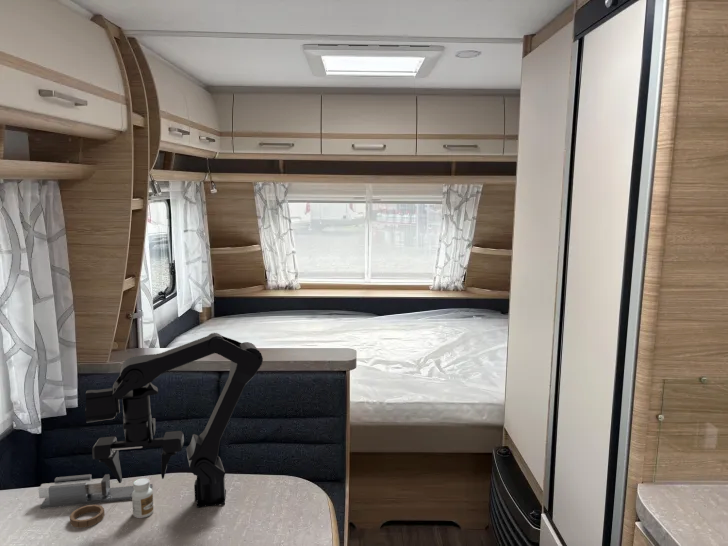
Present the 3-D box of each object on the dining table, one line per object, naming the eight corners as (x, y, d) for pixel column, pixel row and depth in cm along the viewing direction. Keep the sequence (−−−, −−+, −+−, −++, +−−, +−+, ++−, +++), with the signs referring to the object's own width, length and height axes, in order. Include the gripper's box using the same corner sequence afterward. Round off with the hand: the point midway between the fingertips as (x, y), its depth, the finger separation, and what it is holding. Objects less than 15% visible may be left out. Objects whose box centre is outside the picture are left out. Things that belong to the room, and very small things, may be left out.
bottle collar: (107, 509, 134) (106, 503, 134) (99, 525, 127) (99, 519, 127) (75, 512, 133) (75, 506, 132) (66, 529, 126) (66, 522, 126)
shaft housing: (152, 486, 144) (151, 468, 143) (148, 497, 139) (147, 479, 138) (48, 496, 140) (47, 478, 139) (40, 508, 134) (39, 489, 134)
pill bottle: (146, 519, 129) (144, 487, 128) (129, 517, 130) (127, 485, 129) (157, 509, 134) (155, 477, 133) (140, 507, 135) (138, 476, 134)
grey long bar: (110, 488, 141) (109, 474, 141) (106, 495, 138) (105, 481, 137) (44, 494, 138) (42, 480, 138) (38, 502, 135) (37, 487, 134)
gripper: (184, 398, 138) (188, 460, 141) (102, 405, 135) (107, 467, 137) (178, 416, 127) (182, 482, 130) (88, 423, 124) (94, 491, 126)
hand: (141, 480), depth 131 cm, fingers open, 9 cm apart
